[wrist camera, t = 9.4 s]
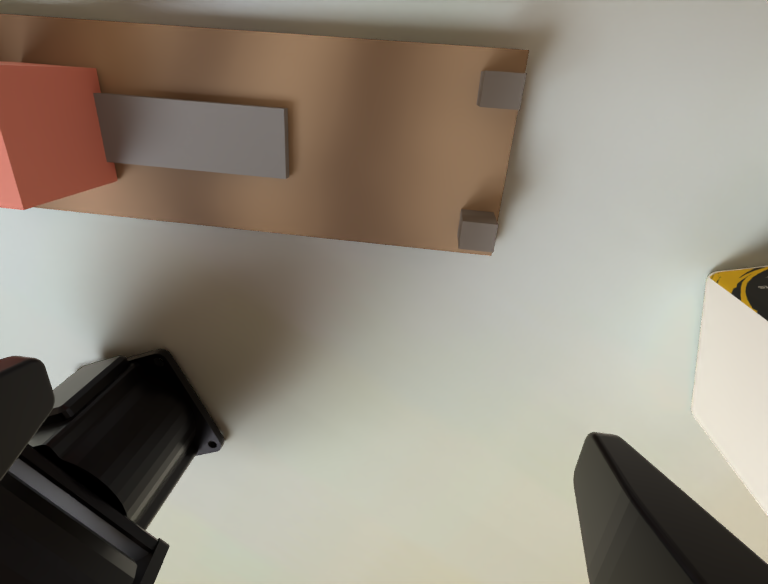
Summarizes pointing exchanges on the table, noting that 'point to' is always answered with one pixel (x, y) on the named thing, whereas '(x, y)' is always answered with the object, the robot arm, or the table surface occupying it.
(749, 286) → the cream yellow box
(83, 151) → the tab
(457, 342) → the table surface
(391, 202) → the plank
